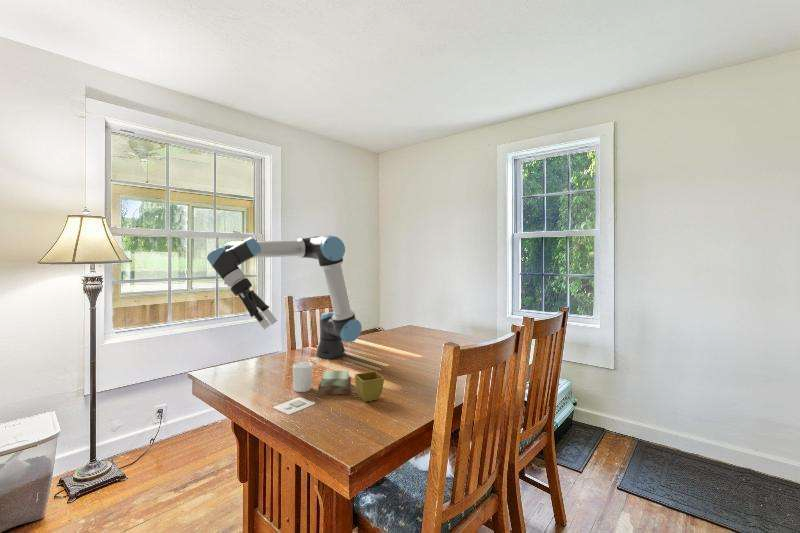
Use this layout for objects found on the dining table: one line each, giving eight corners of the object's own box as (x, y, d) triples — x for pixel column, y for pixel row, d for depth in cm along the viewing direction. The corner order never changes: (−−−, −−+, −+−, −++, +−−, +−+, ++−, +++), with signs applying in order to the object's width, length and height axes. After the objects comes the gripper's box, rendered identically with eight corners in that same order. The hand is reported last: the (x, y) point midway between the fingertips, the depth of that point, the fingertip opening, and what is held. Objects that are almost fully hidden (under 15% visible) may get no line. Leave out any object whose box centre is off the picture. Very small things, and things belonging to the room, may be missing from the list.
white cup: (306, 384, 153) (306, 360, 152) (316, 389, 147) (316, 365, 147) (288, 388, 147) (289, 364, 147) (298, 394, 142) (299, 368, 141)
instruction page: (299, 397, 139) (299, 396, 139) (315, 403, 133) (315, 402, 133) (272, 407, 129) (272, 406, 129) (288, 415, 124) (288, 414, 124)
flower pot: (362, 405, 133) (362, 381, 133) (353, 396, 141) (354, 373, 141) (384, 401, 137) (384, 378, 137) (374, 393, 145) (375, 371, 145)
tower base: (318, 394, 142) (318, 379, 142) (322, 383, 154) (322, 369, 153) (349, 394, 143) (349, 379, 143) (350, 383, 155) (351, 369, 154)
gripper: (239, 287, 158) (270, 326, 159) (219, 289, 133) (255, 335, 134) (254, 277, 159) (284, 315, 160) (236, 277, 134) (272, 323, 135)
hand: (271, 324), depth 147 cm, fingers open, 13 cm apart
